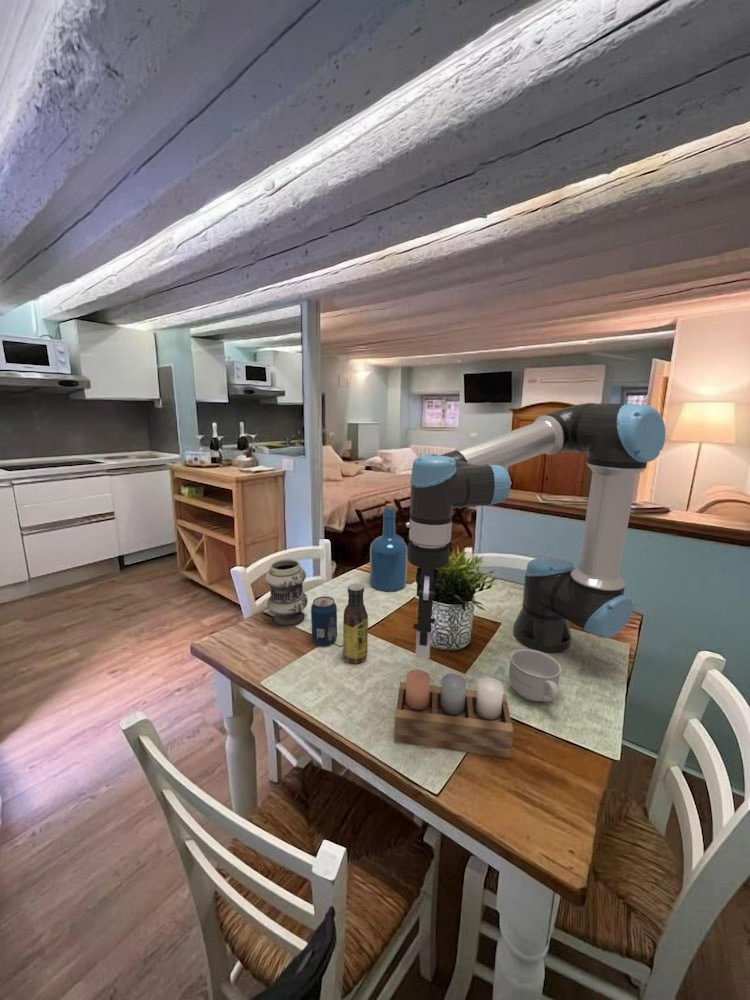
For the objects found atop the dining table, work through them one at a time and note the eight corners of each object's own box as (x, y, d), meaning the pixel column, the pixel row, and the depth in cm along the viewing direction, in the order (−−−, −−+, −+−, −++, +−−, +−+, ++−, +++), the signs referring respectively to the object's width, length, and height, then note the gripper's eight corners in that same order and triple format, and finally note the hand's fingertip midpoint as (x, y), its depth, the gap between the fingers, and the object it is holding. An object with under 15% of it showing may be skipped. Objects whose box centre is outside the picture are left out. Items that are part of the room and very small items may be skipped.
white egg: (499, 704, 82) (501, 678, 81) (502, 722, 78) (505, 695, 76) (474, 701, 83) (476, 675, 82) (476, 719, 79) (478, 692, 77)
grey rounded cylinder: (463, 699, 84) (465, 674, 82) (465, 717, 79) (467, 691, 77) (440, 697, 84) (441, 672, 83) (440, 714, 80) (441, 688, 78)
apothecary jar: (280, 606, 131) (277, 554, 127) (314, 612, 128) (313, 558, 123) (260, 626, 120) (256, 569, 115) (297, 632, 117) (295, 574, 112)
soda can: (317, 632, 117) (315, 594, 114) (340, 635, 116) (339, 596, 113) (308, 646, 110) (306, 606, 107) (332, 649, 109) (332, 609, 106)
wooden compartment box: (503, 718, 86) (505, 694, 85) (510, 758, 76) (513, 731, 75) (399, 705, 89) (400, 681, 88) (394, 742, 80) (395, 716, 78)
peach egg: (429, 695, 85) (430, 670, 83) (428, 713, 80) (430, 686, 79) (406, 693, 85) (407, 668, 84) (404, 709, 81) (405, 684, 79)
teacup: (502, 675, 99) (504, 646, 97) (546, 676, 99) (550, 647, 97) (519, 719, 86) (523, 686, 84) (571, 720, 86) (576, 688, 84)
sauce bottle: (361, 667, 102) (362, 595, 97) (339, 662, 104) (338, 591, 99) (371, 652, 108) (371, 584, 103) (349, 647, 110) (349, 580, 105)
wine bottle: (394, 596, 138) (396, 511, 131) (362, 586, 145) (362, 505, 138) (413, 581, 149) (416, 502, 142) (382, 573, 156) (383, 497, 149)
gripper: (410, 529, 81) (405, 635, 86) (405, 552, 68) (400, 675, 74) (449, 532, 80) (441, 639, 85) (451, 556, 67) (442, 680, 73)
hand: (422, 655), depth 79 cm, fingers closed
